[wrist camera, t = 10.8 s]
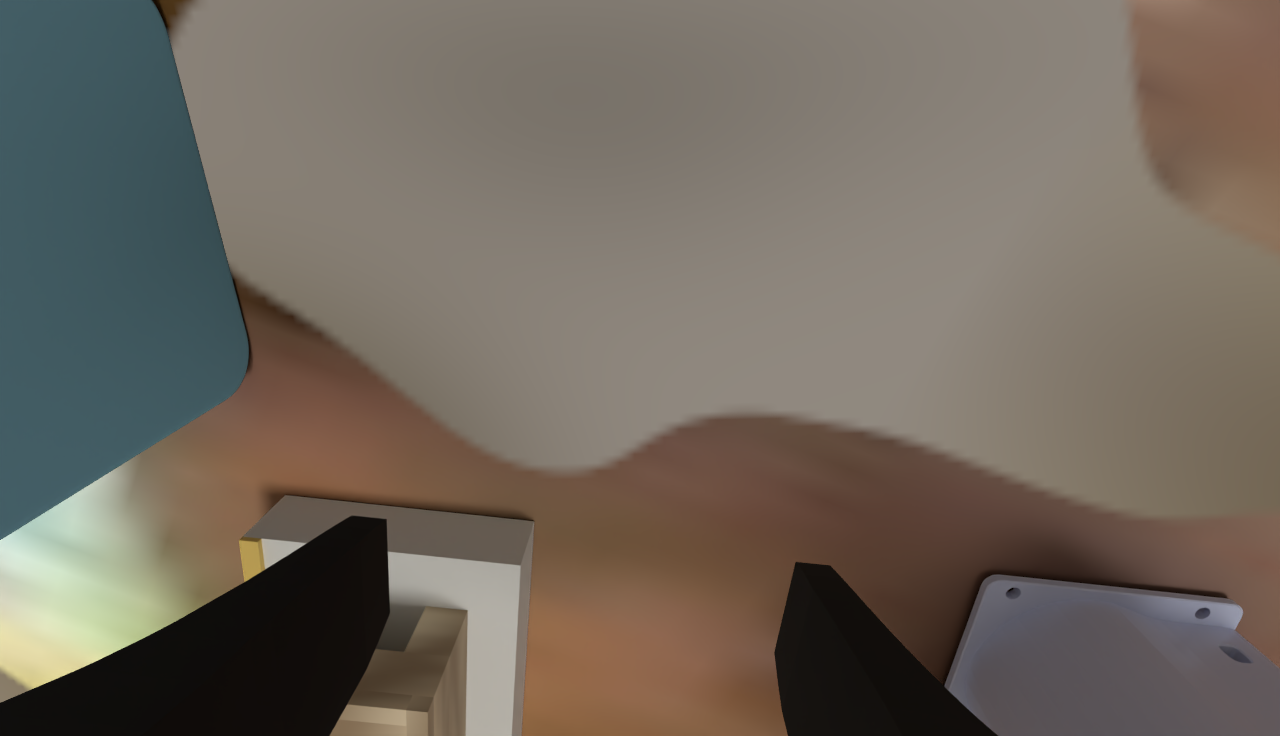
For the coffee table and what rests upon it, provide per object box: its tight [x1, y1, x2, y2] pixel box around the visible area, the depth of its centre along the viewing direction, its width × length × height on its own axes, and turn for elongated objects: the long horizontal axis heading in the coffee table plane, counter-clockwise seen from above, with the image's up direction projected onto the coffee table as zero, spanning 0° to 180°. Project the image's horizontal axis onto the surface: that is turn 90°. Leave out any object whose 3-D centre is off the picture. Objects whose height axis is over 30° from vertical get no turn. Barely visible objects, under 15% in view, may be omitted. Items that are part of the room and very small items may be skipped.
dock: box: [239, 495, 534, 736], centre depth 24 cm, size 9×14×3 cm, turn 174°
